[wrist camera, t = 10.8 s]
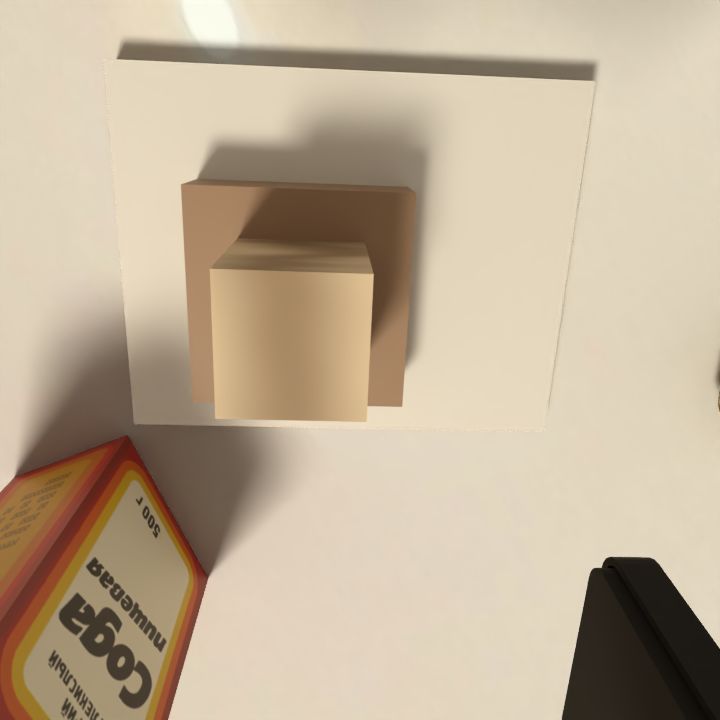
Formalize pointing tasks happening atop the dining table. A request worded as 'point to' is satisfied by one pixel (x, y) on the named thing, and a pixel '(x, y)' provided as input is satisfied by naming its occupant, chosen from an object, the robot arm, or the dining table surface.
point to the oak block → (292, 330)
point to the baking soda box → (93, 591)
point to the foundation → (353, 225)
